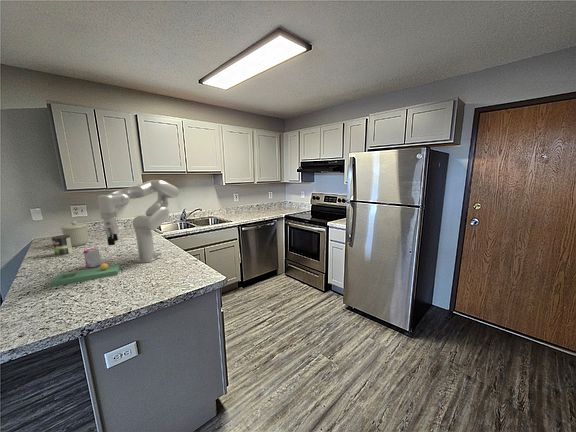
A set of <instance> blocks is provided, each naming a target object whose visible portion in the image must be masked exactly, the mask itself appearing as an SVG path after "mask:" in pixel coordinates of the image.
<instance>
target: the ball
mask: <svg viewBox="0 0 576 432" xmlns="http://www.w3.org/2000/svg"><path fill="white" fill-rule="evenodd" d="M108 266H109V264H108V263H105V262H103V263H101V265H100V266H99V268H100V269H102V270H106V269H107V268H108Z"/></svg>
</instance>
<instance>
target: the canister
mask: <svg viewBox="0 0 576 432" xmlns="http://www.w3.org/2000/svg"><path fill="white" fill-rule="evenodd" d="M88 228H89V224H87V223H78V221H75V220H73V221H71V224H66V225H64V226H62V227H60V230H61V231H62V234H63V235H70V240H71V245H72V247H80V246H83V245H87V243H88V241H89V233H88V232H89V231H88Z"/></svg>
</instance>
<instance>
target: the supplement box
mask: <svg viewBox="0 0 576 432" xmlns="http://www.w3.org/2000/svg"><path fill="white" fill-rule="evenodd" d="M83 255H84V260H85V261H84V262H85V266H86V267H85V268H87V269H93V268H98V267H100V265H101V264H102V262H101V254H100V249H99V248H90V249H85V250H83Z"/></svg>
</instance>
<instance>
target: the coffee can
mask: <svg viewBox="0 0 576 432" xmlns="http://www.w3.org/2000/svg"><path fill="white" fill-rule="evenodd" d="M50 239H51V242H52V243H51V244H52V246H53V253H54V257H56V258H57V257H58V258H59V257H66V256H70V255H73V254H74V251H73V246H72V245H71V240H70V235H57V236H53V237H51V238H50Z"/></svg>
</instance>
